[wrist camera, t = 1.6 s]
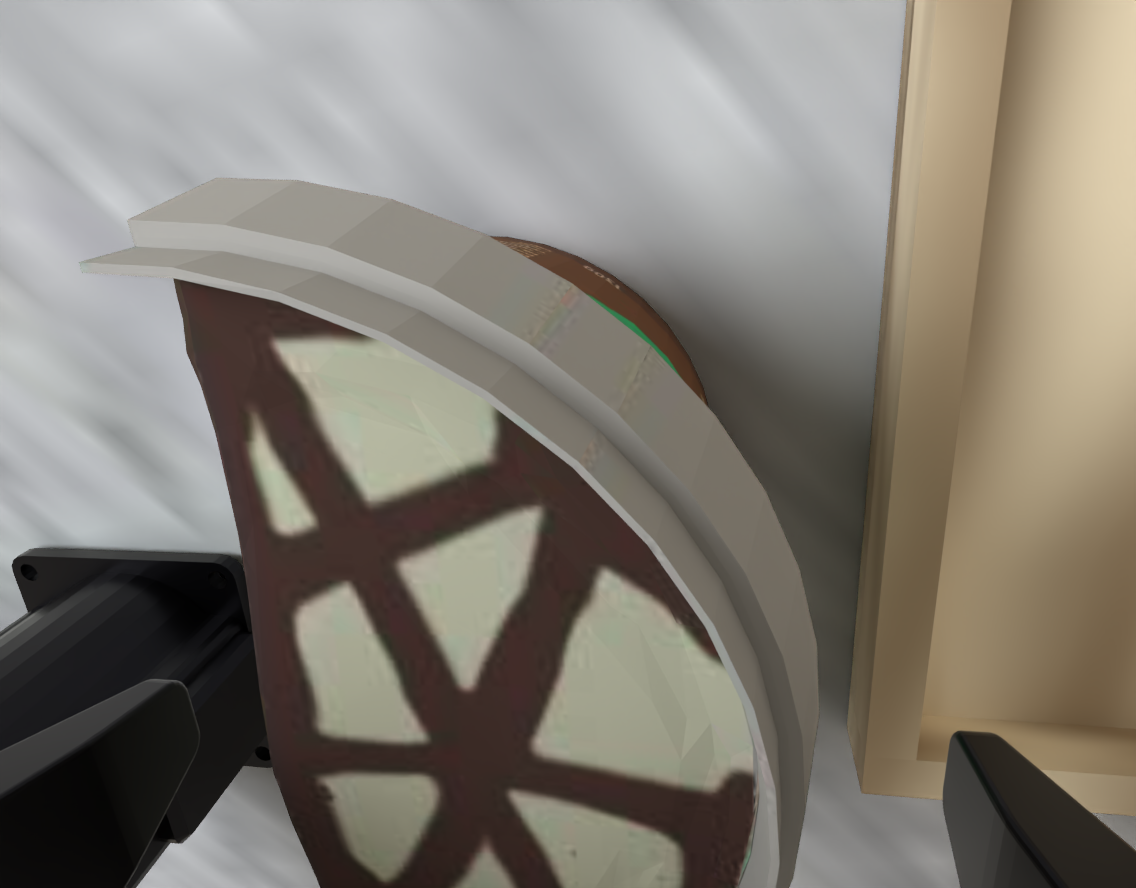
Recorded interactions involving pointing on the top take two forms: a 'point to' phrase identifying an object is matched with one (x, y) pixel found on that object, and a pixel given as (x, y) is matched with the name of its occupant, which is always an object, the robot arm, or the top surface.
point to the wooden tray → (1005, 405)
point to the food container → (488, 553)
